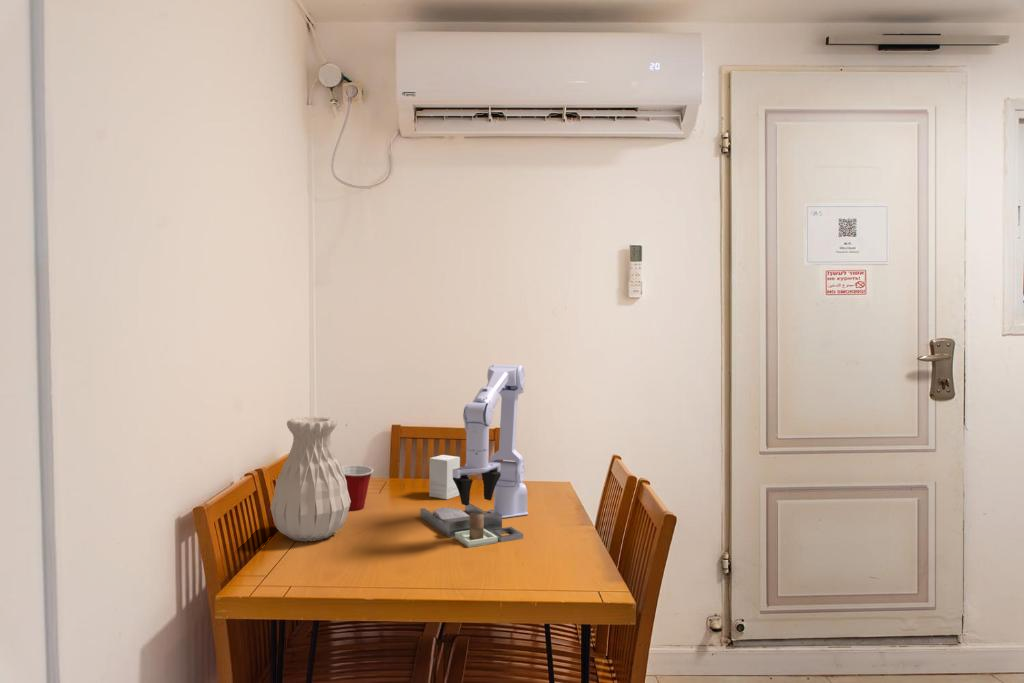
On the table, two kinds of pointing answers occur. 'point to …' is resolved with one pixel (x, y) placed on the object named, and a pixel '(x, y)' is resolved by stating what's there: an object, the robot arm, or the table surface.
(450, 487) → the supplement box
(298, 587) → the table surface
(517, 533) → the dowel socket
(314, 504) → the vase
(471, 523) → the dowel
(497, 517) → the bench stop
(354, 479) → the plastic cup
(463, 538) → the tray
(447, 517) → the stone block
